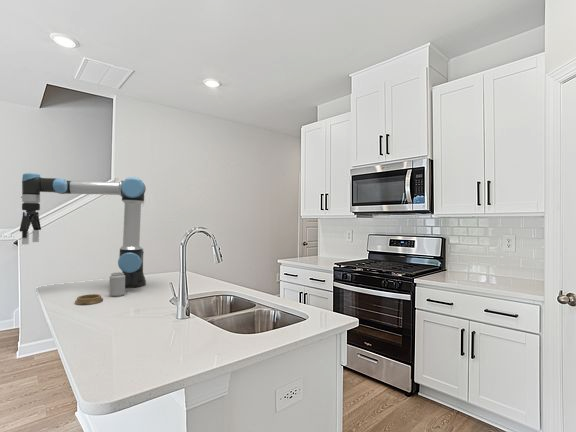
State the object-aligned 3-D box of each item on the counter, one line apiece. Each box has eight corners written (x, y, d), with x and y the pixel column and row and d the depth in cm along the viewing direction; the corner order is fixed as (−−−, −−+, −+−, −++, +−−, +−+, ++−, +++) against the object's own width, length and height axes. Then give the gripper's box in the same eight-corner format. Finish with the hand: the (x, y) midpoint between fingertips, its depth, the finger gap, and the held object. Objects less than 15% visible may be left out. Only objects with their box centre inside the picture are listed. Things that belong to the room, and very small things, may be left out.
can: (127, 294, 184) (128, 272, 184) (119, 297, 176) (120, 274, 176) (114, 293, 184) (115, 271, 184) (106, 296, 177) (106, 274, 177)
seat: (105, 298, 174) (105, 293, 174) (100, 304, 163) (100, 298, 163) (78, 299, 170) (78, 294, 170) (71, 305, 159) (71, 300, 159)
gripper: (31, 203, 187) (31, 241, 187) (11, 202, 164) (11, 245, 164) (47, 203, 190) (47, 241, 190) (30, 202, 166) (29, 245, 166)
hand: (30, 243), depth 177 cm, fingers open, 13 cm apart
